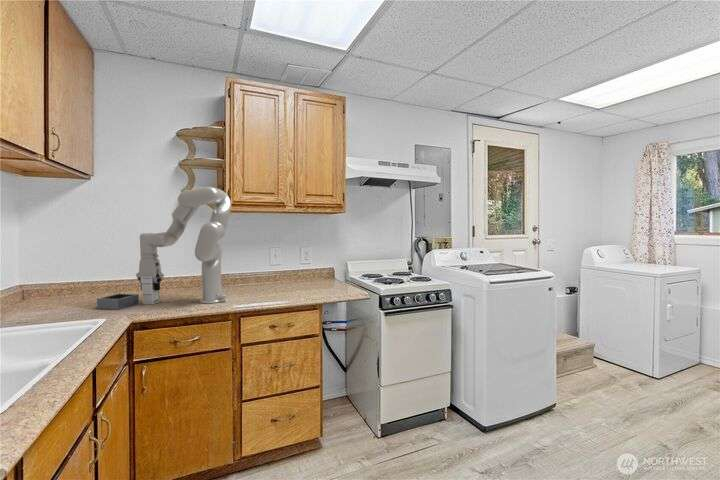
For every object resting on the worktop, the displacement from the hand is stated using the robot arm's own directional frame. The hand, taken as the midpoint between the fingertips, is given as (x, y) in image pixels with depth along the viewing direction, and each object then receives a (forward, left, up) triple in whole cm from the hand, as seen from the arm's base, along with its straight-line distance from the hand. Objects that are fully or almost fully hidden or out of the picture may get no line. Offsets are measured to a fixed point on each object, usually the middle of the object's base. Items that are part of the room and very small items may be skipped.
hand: (150, 289), depth 185 cm
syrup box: (0, 0, -7) cm, 7 cm away
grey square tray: (+11, +9, -7) cm, 16 cm away
